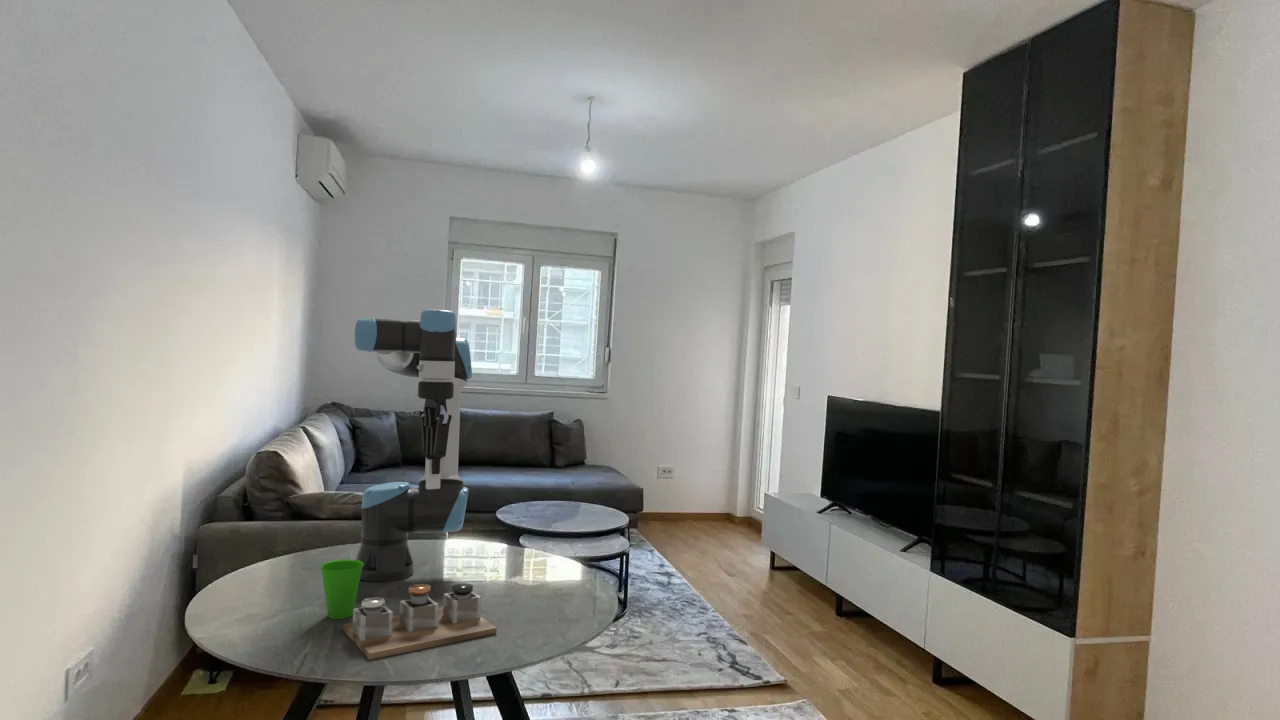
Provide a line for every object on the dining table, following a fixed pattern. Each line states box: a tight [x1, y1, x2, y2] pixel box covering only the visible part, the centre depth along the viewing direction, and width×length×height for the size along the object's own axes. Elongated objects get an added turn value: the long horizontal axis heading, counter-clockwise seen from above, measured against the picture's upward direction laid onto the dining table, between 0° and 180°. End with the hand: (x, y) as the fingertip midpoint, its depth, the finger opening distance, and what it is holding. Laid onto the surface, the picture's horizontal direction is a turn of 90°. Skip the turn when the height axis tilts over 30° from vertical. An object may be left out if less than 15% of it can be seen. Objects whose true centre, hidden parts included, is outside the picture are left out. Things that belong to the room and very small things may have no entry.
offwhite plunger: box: [360, 596, 386, 616], centre depth 152 cm, size 4×4×5 cm
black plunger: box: [451, 582, 474, 600], centre depth 163 cm, size 4×4×5 cm
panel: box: [342, 590, 498, 661], centre depth 156 cm, size 18×26×6 cm
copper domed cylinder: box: [408, 583, 432, 608], centre depth 157 cm, size 4×4×5 cm
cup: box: [319, 558, 364, 620], centre depth 165 cm, size 9×9×11 cm
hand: (432, 488), depth 165 cm, fingers closed
